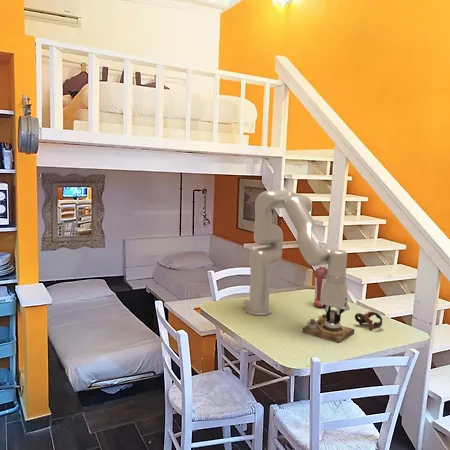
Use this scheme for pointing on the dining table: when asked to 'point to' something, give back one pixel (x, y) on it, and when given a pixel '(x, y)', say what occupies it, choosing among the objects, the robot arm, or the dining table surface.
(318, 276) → the liquor
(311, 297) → the dining table surface
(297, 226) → the robot arm
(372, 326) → the brown creature figurine
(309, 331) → the carrier board
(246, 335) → the dining table surface
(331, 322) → the knobbed round disc
